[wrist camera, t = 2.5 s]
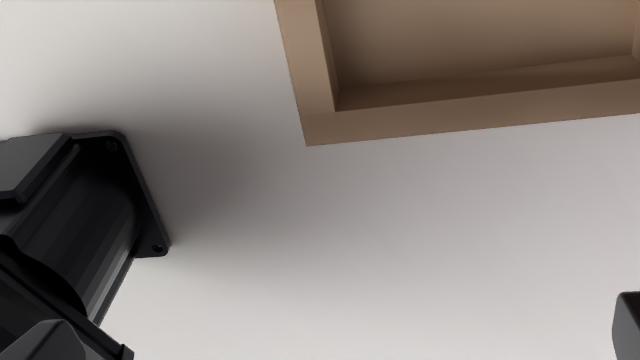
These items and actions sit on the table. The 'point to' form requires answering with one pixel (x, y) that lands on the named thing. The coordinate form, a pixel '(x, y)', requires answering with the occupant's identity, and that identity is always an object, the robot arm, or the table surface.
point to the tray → (457, 64)
